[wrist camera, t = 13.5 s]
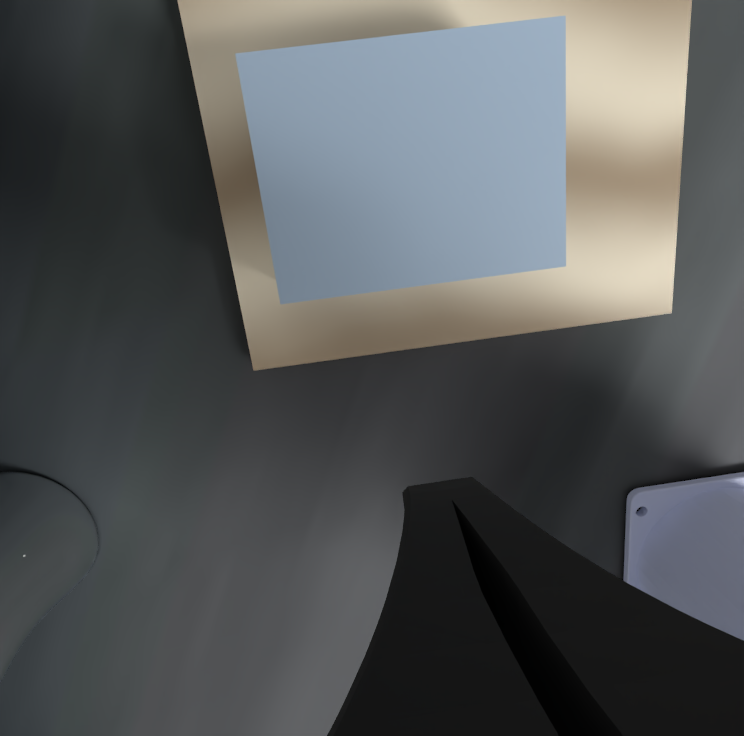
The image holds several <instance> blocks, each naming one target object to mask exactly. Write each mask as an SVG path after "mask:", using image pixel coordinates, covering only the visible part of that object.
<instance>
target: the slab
mask: <svg viewBox="0 0 744 736" xmlns="http://www.w3.org/2000/svg"><path fill="white" fill-rule="evenodd" d="M235 55H236V61H237V67H238V72H239V78H240V83H241V89H242V94H243V100H244V105H245V111H246V116H247V122H248V128H249V133H250V139H251V144H252V150H253V155H254V161H255V166H256V172H257V177H258V183H259V189H260V194H261V200H262V205H263V211H264V216H265V222H266V227H267V233H268V238H269V244H270V249H271V255H272V261H273V266H274V272H275V277H276V283H277V288H278V294H279V299H280V304H288V303H295V302H303V301H310V300H318V299H325V298H333V297H340V296H348V295H355V294H363V293H370V292H378V291H385V290H393V289H400V288H408V287H415V286H423V285H430V284H438V283H445V282H453V281H460V280H468V279H475V278H483V277H490V276H498V275H505V274H513V273H520V272H528V271H535V270H543V269H550V268H558V267H565V266H566V16H557V17H549V18H540V19H531V20H523V21H514V22H505V23H496V24H488V25H479V26H470V27H462V28H453V29H444V30H435V31H427V32H418V33H409V34H401V35H392V36H383V37H374V38H366V39H357V40H348V41H340V42H331V43H322V44H314V45H305V46H296V47H287V48H279V49H270V50H261V51H253V52H244V53H235Z"/></svg>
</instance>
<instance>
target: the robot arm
mask: <svg viewBox="0 0 744 736" xmlns="http://www.w3.org/2000/svg"><path fill="white" fill-rule="evenodd" d="M403 501H404V509H405V513H404V523H403V532H402V537H401V542H400V547H399V553H398V558H397V562H396V566H395V569H394V573H393V576H392V580H391V584H390V587H389V591H388V594H387V598H386V601H385V604H384V607H383V610H382V613H381V616H380V619H379V621H378V624H377V627H376V630H375V632H374V635H373V637H372V640H371V642H370V645H369V647H368V650H367V652H366V655H365V657H364V659H363V662H362V664H361V666H360V668H359V671H358V673H357V675H356V677H355V680H354V682H353V684H352V686H351V688H350V691H349V693H348V695H347V697H346V699H345V701H344V703H343V706H342V708H341V710H340V712H339V714H338V716H337V718H336V720H335V722H334V724H333V726H332V728H331V730H330V731H329V733H328V735H327V736H744V472H740V473H734V474H727V475H720V476H714V477H707V478H700V479H694V480H687V481H680V482H674V483H667V484H660V485H654V486H647V487H640V488H636V489H633V490H632V491H631V492H630V493H629V494H628V496H627V505H626V529H625V554H624V578H623V580H621V579H619V578H618V577H616V576H614V575H612V574H611V573H609V572H607V571H605V570H604V569H602V568H601V567H599V566H597V565H596V564H594V563H592V562H591V561H589V560H588V559H586V558H584V557H583V556H581V555H580V554H578V553H576V552H575V551H573V550H572V549H570V548H568V547H567V546H565V545H564V544H562V543H561V542H559V541H558V540H556V539H555V538H553V537H552V536H550V535H549V534H548V533H546V532H545V531H543V530H542V529H540V528H539V527H537V526H536V525H535V524H533V523H532V522H530V521H529V520H528V519H526V518H525V517H524V516H522V515H521V514H519V513H518V512H517V511H515V510H514V509H513V508H511V507H510V506H509V505H508V504H506V503H505V502H504V501H502V500H501V499H500V498H498V497H497V496H496V495H494V494H493V493H492V492H491V491H489V490H488V489H487V488H485V487H484V486H483V485H482V484H480V483H479V482H478V481H476V480H475V479H474V478H472V477H468V478H461V479H455V480H448V481H441V482H434V483H427V484H421V485H414V486H408V487H407V488H406V489H405V490H404V492H403ZM639 507H642V508H641V509H640V510H639V511H637V509H638V508H639ZM636 511H637V512H636Z"/></svg>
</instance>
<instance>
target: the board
mask: <svg viewBox="0 0 744 736" xmlns="http://www.w3.org/2000/svg"><path fill="white" fill-rule="evenodd" d="M177 1H178V5H179V10H180V15H181V20H182V25H183V30H184V35H185V40H186V44H187V49H188V54H189V59H190V64H191V69H192V74H193V78H194V83H195V88H196V93H197V98H198V103H199V108H200V112H201V117H202V122H203V127H204V132H205V137H206V142H207V146H208V151H209V156H210V161H211V166H212V171H213V176H214V181H215V185H216V190H217V195H218V200H219V205H220V210H221V215H222V219H223V224H224V229H225V234H226V239H227V244H228V249H229V253H230V258H231V263H232V268H233V273H234V278H235V283H236V288H237V292H238V297H239V302H240V307H241V312H242V317H243V322H244V326H245V331H246V336H247V341H248V346H249V351H250V356H251V360H252V365H253V370H254V371H255V370H262V369H269V368H277V367H284V366H291V365H298V364H306V363H313V362H320V361H327V360H335V359H342V358H349V357H356V356H364V355H371V354H378V353H385V352H393V351H400V350H407V349H415V348H422V347H429V346H436V345H444V344H451V343H458V342H465V341H473V340H480V339H487V338H494V337H502V336H509V335H516V334H524V333H531V332H538V331H545V330H553V329H560V328H567V327H574V326H582V325H589V324H596V323H603V322H611V321H618V320H625V319H632V318H640V317H647V316H654V315H662V314H669V313H672V300H673V284H674V269H675V253H676V238H677V222H678V207H679V191H680V175H681V160H682V144H683V129H684V113H685V98H686V82H687V67H688V51H689V36H690V20H691V5H692V0H177ZM557 16H566V266H565V267H558V268H550V269H543V270H535V271H528V272H520V273H513V274H505V275H498V276H490V277H483V278H475V279H468V280H460V281H453V282H445V283H438V284H430V285H423V286H415V287H408V288H400V289H393V290H385V291H378V292H370V293H363V294H355V295H348V296H340V297H333V298H325V299H318V300H310V301H303V302H295V303H288V304H280V299H279V294H278V288H277V283H276V277H275V272H274V266H273V261H272V255H271V249H270V244H269V238H268V233H267V227H266V222H265V216H264V211H263V205H262V200H261V194H260V189H259V183H258V177H257V172H256V166H255V161H254V155H253V150H252V144H251V139H250V133H249V128H248V122H247V116H246V111H245V105H244V100H243V94H242V89H241V83H240V78H239V72H238V67H237V61H236V55H235V53H244V52H253V51H261V50H270V49H279V48H287V47H296V46H305V45H314V44H322V43H331V42H340V41H348V40H357V39H366V38H374V37H383V36H392V35H401V34H409V33H418V32H427V31H435V30H444V29H453V28H462V27H470V26H479V25H488V24H496V23H505V22H514V21H523V20H531V19H540V18H549V17H557Z"/></svg>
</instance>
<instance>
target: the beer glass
mask: <svg viewBox="0 0 744 736" xmlns="http://www.w3.org/2000/svg"><path fill="white" fill-rule="evenodd" d="M98 544H99V540H98V532H97V528H96V525H95V522H94V520H93V518H92V516H91V514H90V513H89V511H88V510H87V508H86V507H85V506H84V504H83V503H82V502H81V501H80V500H79V499H78V498H77V497H76V496H75V495H74V494H72V493H71V492H70V491H69V490H67V489H66V488H64V487H63V486H61V485H59V484H57V483H55V482H53V481H51V480H49V479H47V478H44V477H41V476H38V475H34V474H29V473H23V472H0V684H1V682H2V680H3V678H4V676H5V675H6V673H7V671H8V669H9V667H10V665H11V664H12V662H13V660H14V658H15V656H16V654H17V653H18V651H19V650H20V648H21V647H22V645H23V644H24V642H25V641H26V639H27V638H28V636H29V635H30V633H31V632H32V631H33V629H34V628H35V627H36V626H37V625H38V623H39V622H40V621H41V620H42V619H43V618H44V617H45V615H46V614H47V613H48V612H49V611H50V610H51V609H52V608H54V607H55V606H56V605H57V604H58V603H59V602H60V601H61V600H62V599H63V598H64V597H66V596H67V595H68V594H69V593H70V592H71V591H72V590H73V589H74V588H75V587H76V586H77V585H78V584H79V583H80V582H81V581H82V580H83V579H84V578H85V577H86V575H87V574H88V573H89V571H90V570H91V568H92V566H93V564H94V562H95V559H96V556H97V552H98Z"/></svg>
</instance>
